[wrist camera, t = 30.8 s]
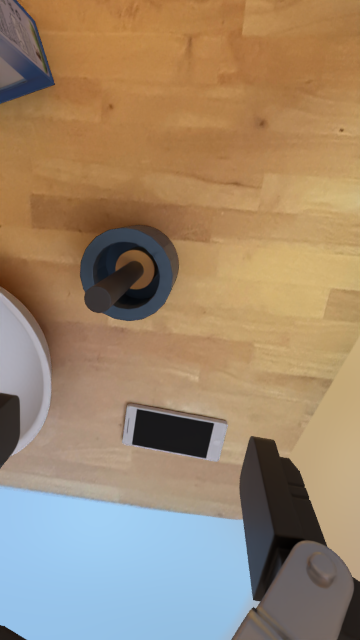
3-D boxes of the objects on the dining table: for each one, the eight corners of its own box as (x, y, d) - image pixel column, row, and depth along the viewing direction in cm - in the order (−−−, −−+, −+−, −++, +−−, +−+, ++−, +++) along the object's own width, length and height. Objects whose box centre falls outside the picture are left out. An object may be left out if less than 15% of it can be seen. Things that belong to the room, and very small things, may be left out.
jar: (183, 231, 42) (178, 236, 34) (173, 305, 45) (165, 327, 37) (107, 219, 42) (82, 221, 34) (101, 294, 45) (77, 312, 37)
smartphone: (218, 458, 52) (218, 462, 51) (123, 440, 53) (121, 444, 52) (227, 420, 50) (228, 424, 49) (128, 402, 50) (126, 405, 49)
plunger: (160, 250, 42) (130, 274, 25) (156, 286, 44) (124, 332, 27) (123, 244, 42) (69, 264, 25) (120, 280, 44) (66, 323, 27)
